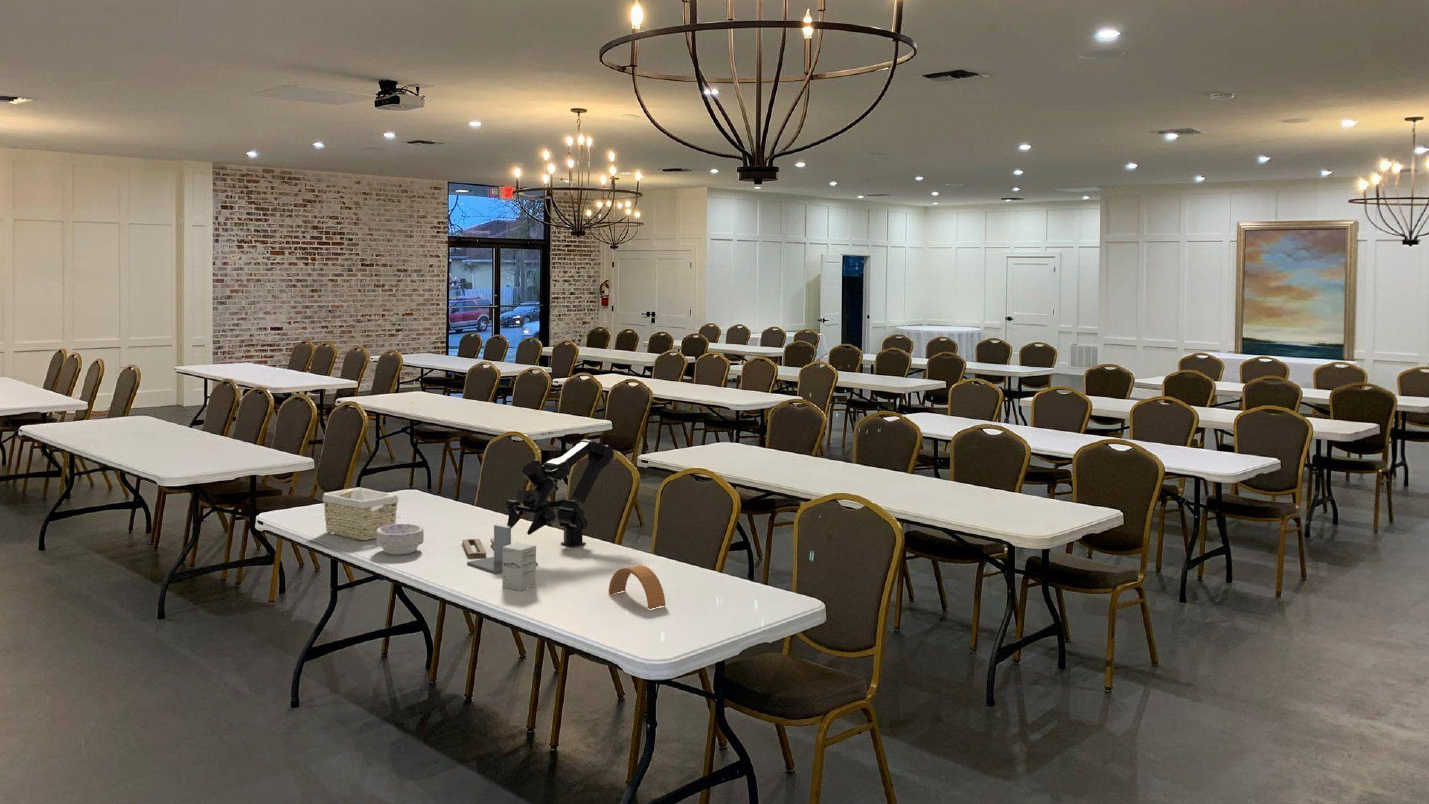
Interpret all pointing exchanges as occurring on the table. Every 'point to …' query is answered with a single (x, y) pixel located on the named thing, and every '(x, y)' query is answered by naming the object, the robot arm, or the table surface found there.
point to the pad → (488, 565)
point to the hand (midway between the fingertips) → (517, 532)
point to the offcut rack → (478, 545)
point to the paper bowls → (400, 538)
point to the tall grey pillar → (501, 541)
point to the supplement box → (519, 566)
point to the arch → (647, 580)
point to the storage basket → (359, 512)
